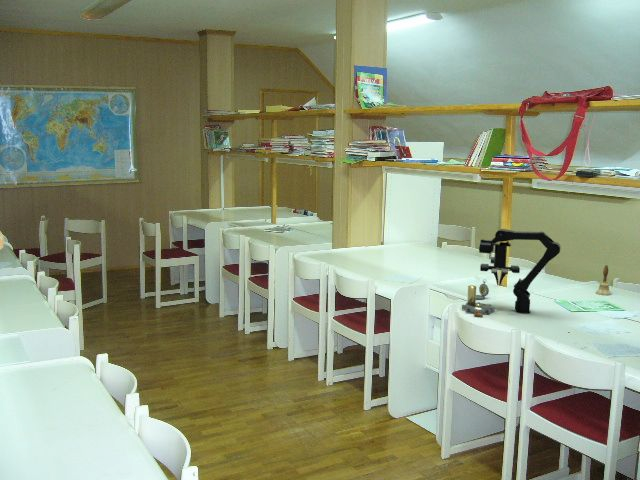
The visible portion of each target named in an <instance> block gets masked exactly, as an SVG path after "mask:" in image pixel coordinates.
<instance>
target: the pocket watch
mask: <svg viewBox="0 0 640 480" xmlns="http://www.w3.org/2000/svg"><path fill="white" fill-rule="evenodd" d="M482 282H483V283H481V284H480V285H479V288H478V290H479V294H476V300H484V299H485V297H487V296H488V295H489V294H490V293H489V292H490V289H489V287H488V285H487V284H486V279H485V278H484V279H483V281H482ZM483 298H484V299H483Z"/></svg>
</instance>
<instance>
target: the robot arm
mask: <svg viewBox="0 0 640 480" xmlns="http://www.w3.org/2000/svg"><path fill="white" fill-rule="evenodd" d="M513 240H517V241H518V240H519V241H521V240H522V241H523V240H524V241H528V240H529V241H539V242H540V243H541V244H542V245H543V246H544V247H545V248H546V250H545V252H544V253H543V255H542V256H541V258H540V259H539V260H538V262H536V264H535V265H534V266H533V268H532V269H530V271H529V272H528V274H526V276H525V277H524V278H523V279H522V278H519V279H518V281H517V282H516V283H514V284H513V289H512V293H513V295H514V296H515V297H516V300H515V301H514V311H515V312H516V313H519V314H520V313H523V314H530V313H531V311H530V308H531V299H530V296H531V293H530V291H528V289H529V287H530V285H531V284H532V282H533V281H534V280H535V279H536V277H537V276H538V275H539V274H540V272H542V270H543V269H544V268H545V267H546V265H548V263H549V262H550V261H551V260H553V259H554V258H555V257H557V256H558V255H560V254H559V253H561V249H562V248H561V245H560V243H559V242H557V241H554V240H553V239H552V238H551V237H550V236H548V235H547V234H546V233H545V232H544V231H517V230H516V231H515V230H510V229H506V228H499V229H498V230H497V231H496V232H495V235H494V237H493V238H492V239H491V240H490V239H485V238H484V239H483V238H482V239H480V243H479V247H478V252H479V254H489V255H491V254H492V253H494V256H490V264H493V265H489V263H481V264H480V266H479V267H480V268H479V271H480V272H488V271H489V270H490V271H491V274H493V275H494V277H495V281H496V285H497V286H501V284H502V282H503V279H504V278H505V276H506V275H508V274H509V272H511V273H513V274H520V273H521V272H520V271H521V269H520V266H519V265H516V264H515V265H512V264H511V265H510V266H507V257H508V255H507V254H508V253H507V252H508V247H512V243H510V241H513ZM498 271H500V278H499V273H498Z"/></svg>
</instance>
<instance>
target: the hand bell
mask: <svg viewBox="0 0 640 480" xmlns="http://www.w3.org/2000/svg"><path fill="white" fill-rule="evenodd" d="M602 272H603V279H602V282H601V283H599V286H598V289H597V290H596V291H595V294H597V295H601V296H611V295H612V292H611V291H610V285H609V284H608V283H607V278H608V275H609V266H608V264H607V265H604V268H603V270H602Z"/></svg>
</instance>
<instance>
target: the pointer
mask: <svg viewBox="0 0 640 480" xmlns="http://www.w3.org/2000/svg"><path fill="white" fill-rule="evenodd" d="M473 317H474V318H480V319H481V318H484V314H480V313H477V314H476V313H473Z"/></svg>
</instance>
